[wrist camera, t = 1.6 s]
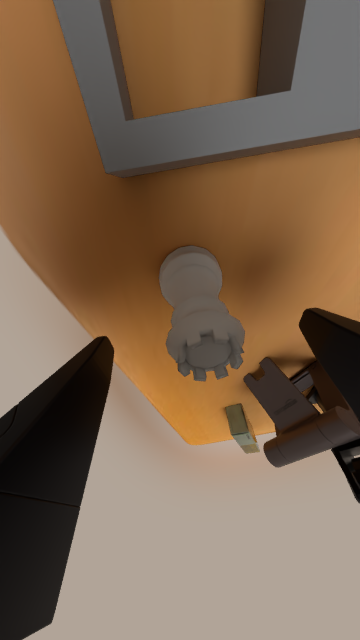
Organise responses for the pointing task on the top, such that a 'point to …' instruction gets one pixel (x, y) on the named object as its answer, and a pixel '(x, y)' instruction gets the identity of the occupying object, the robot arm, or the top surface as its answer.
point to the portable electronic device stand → (302, 413)
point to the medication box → (241, 428)
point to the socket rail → (231, 117)
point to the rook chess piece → (199, 315)
